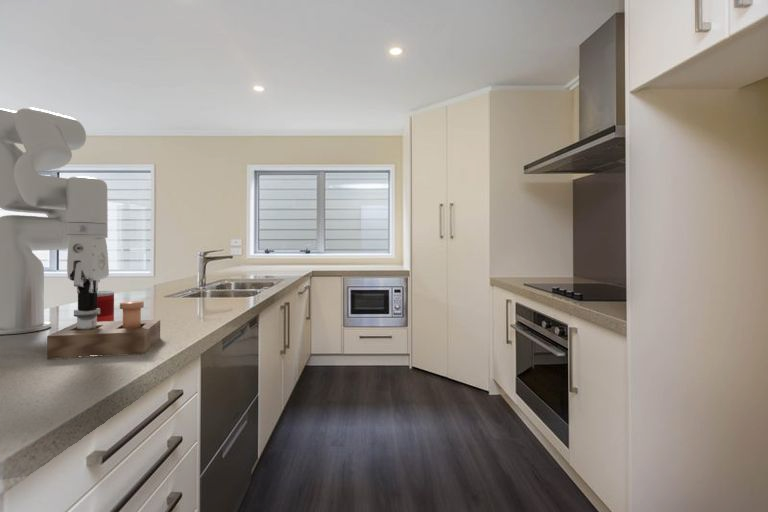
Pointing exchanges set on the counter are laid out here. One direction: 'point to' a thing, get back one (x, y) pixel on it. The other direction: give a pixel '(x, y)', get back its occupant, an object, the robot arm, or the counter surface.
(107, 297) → the canned food
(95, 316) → the grey plug
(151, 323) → the socket block
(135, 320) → the terracotta plug
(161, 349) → the counter surface
